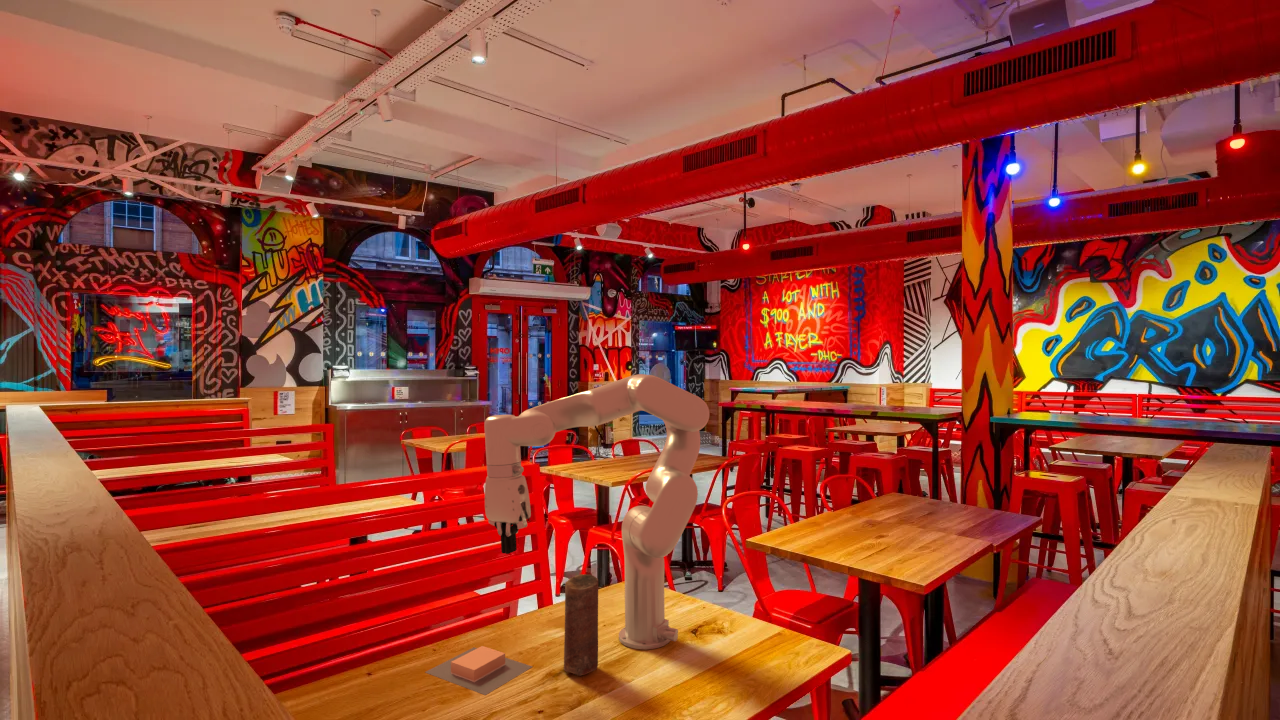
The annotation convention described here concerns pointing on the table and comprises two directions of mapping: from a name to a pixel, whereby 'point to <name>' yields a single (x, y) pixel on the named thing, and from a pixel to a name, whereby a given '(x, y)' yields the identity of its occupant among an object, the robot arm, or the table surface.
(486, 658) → the tile
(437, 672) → the board
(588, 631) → the brown weathered post
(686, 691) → the table surface
